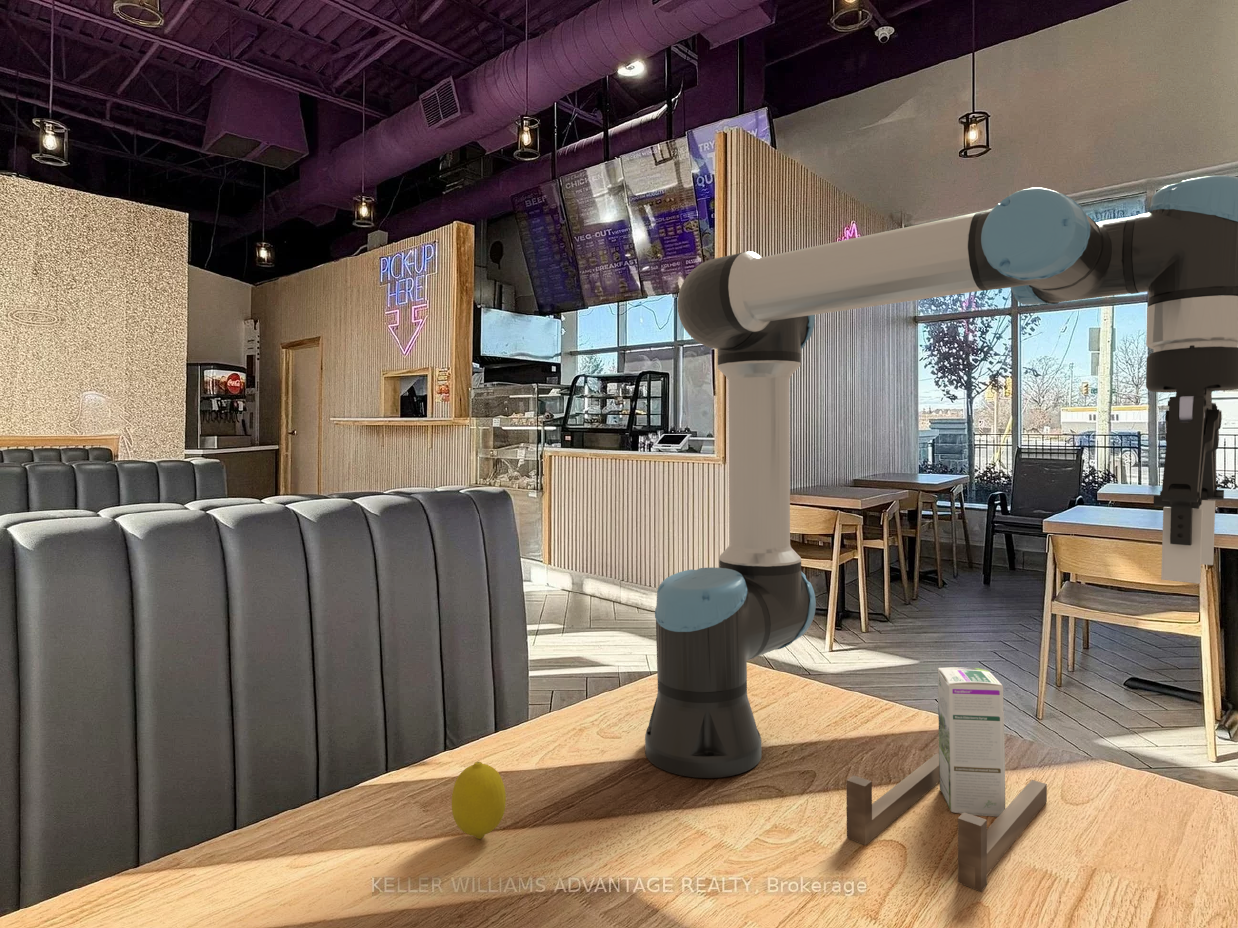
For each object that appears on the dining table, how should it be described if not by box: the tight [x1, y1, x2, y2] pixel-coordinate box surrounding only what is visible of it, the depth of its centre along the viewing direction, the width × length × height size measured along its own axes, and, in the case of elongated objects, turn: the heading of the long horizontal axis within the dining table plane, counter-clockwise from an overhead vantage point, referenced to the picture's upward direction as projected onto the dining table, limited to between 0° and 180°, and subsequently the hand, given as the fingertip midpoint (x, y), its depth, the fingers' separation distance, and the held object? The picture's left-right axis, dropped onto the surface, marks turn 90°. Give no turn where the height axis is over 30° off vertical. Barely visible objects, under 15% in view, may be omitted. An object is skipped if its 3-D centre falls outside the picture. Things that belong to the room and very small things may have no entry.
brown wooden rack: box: [845, 752, 1048, 893], centre depth 78 cm, size 13×22×6 cm, turn 135°
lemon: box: [451, 761, 507, 840], centre depth 76 cm, size 6×6×8 cm
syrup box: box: [937, 666, 1006, 818], centre depth 81 cm, size 6×6×14 cm
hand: (1188, 571), depth 70 cm, fingers open, 13 cm apart
